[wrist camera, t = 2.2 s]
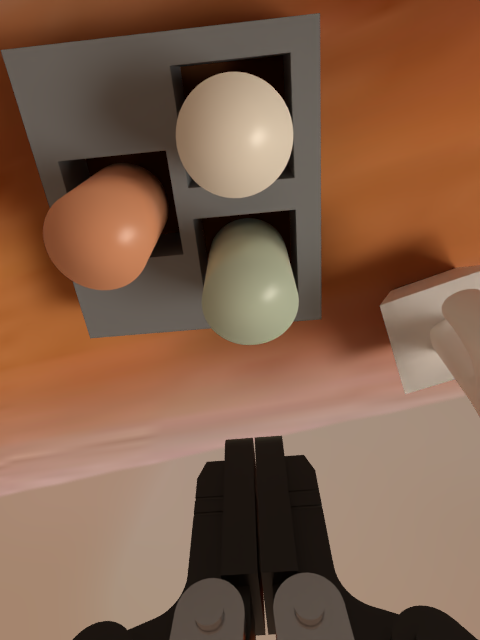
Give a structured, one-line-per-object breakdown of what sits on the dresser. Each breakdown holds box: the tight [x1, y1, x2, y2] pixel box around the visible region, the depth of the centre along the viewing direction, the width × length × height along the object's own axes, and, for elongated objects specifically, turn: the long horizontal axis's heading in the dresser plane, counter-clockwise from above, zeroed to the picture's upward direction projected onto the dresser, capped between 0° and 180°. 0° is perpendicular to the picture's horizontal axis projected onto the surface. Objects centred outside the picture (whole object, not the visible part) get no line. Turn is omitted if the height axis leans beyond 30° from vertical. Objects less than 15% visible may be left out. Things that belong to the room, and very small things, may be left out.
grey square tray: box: [1, 13, 321, 338], centre depth 24 cm, size 14×15×4 cm
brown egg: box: [43, 163, 169, 290], centre depth 21 cm, size 4×4×6 cm
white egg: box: [176, 72, 293, 198], centre depth 19 cm, size 4×4×6 cm
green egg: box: [202, 218, 299, 345], centre depth 22 cm, size 4×4×6 cm
